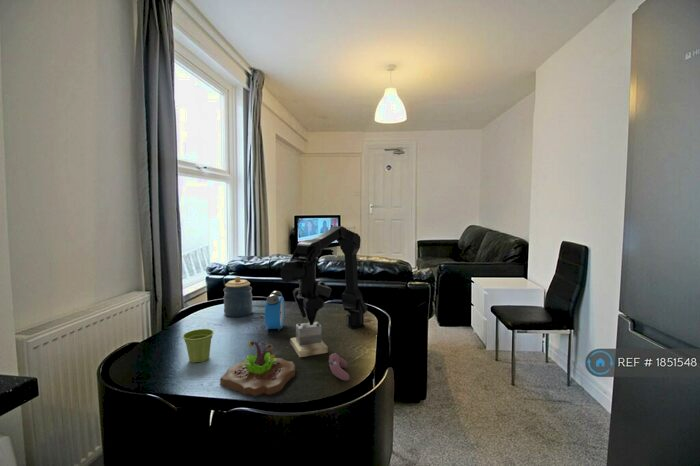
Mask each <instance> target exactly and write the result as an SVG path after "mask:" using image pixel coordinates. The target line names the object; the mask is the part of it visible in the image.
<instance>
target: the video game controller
mask: <svg viewBox="0 0 700 466" xmlns="http://www.w3.org/2000/svg"><path fill="white" fill-rule="evenodd" d="M328 363H329V365H328V366H329V368H330V371H331V373H332V374H333V376H335V377H336V378H338V379H340V381H341V380H342V381H345V382H347V381H349V380H350V375H349V373H348V372H346V371H345V370H344V369H345V368H347V367H348V363H347V361H346V360H345V359H344V358H342V357H341V356H339V354H337V353H336V352H335V353H331V354H330V355H328ZM342 368H343V369H342Z"/></svg>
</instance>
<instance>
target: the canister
mask: <svg viewBox="0 0 700 466" xmlns="http://www.w3.org/2000/svg"><path fill="white" fill-rule="evenodd" d="M250 285H251V282H249V281H248V280H247V279H242V278H241V277H240V276H235V278H234V279H232V280H231V279H230V280H229V281H227V282H226V283H225V284H224V286H225V287H224V288H223V292H224V296H223V313H224V316H226V317H228V318H239V317H240V318H241V317H246V316H249V315H251V314H252V313H253V294H252V290H253V287H252V286H250Z"/></svg>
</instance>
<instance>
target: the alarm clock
mask: <svg viewBox="0 0 700 466" xmlns="http://www.w3.org/2000/svg"><path fill="white" fill-rule="evenodd" d="M285 304H286V303H285V299H284V297H283V294H282V292H281V291H279V290H273V291H272V292H271V293H270V294H269V295H267V298H266V300H265V306H264V308H265V309H264V323H265V328H266V329H268V330H275V329H276V330H278V332H280V330H281V329H283V327H284V323H285V315H286V307H285V306H286V305H285Z"/></svg>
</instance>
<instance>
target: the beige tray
mask: <svg viewBox="0 0 700 466" xmlns="http://www.w3.org/2000/svg"><path fill="white" fill-rule="evenodd" d="M289 340H290V341H289V343H290V346H292V348H293V349H294V351H295V353H296V354H297V356H298V358H303V357H304V358H305V357H309V356H316V355H321V354H326V353H328V352H329V351H328V350H329V347H328V345H327V344H326V343H325V342H324V341H323V340H322V342H320V343H314V344H307V345H301V346H299V344H298V343H297V341H296V336H295V337H290V339H289Z"/></svg>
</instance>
